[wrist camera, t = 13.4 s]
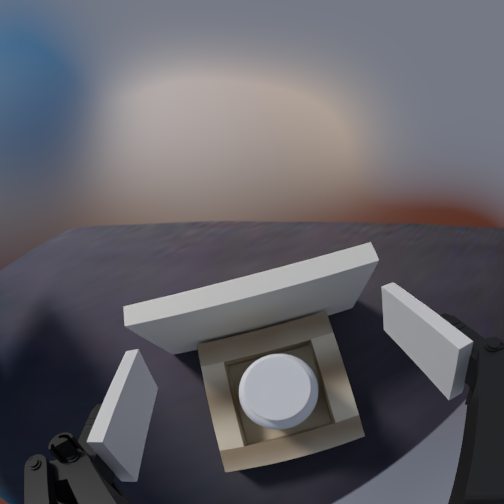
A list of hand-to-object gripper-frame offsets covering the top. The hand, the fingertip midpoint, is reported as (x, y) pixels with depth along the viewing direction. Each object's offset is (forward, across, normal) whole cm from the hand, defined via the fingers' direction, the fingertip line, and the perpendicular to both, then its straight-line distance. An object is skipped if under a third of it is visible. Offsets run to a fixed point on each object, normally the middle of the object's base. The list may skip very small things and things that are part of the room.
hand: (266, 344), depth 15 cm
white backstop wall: (+12, 0, -6) cm, 14 cm away
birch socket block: (+8, 0, -11) cm, 13 cm away
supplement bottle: (+7, 0, -11) cm, 13 cm away
